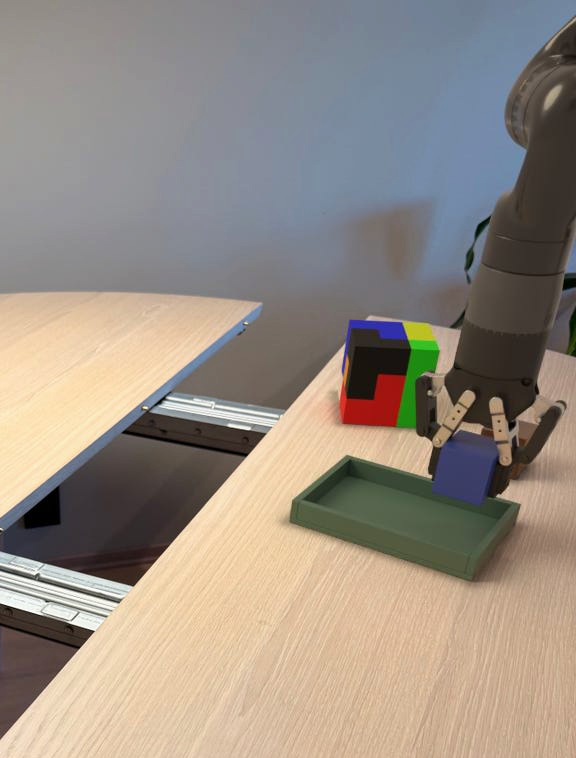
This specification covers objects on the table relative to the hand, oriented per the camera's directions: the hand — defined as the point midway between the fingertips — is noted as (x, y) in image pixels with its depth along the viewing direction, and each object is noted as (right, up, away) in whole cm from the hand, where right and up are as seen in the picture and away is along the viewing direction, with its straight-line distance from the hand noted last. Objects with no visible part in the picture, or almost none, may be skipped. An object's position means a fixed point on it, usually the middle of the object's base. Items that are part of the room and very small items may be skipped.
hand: (465, 486), depth 98 cm
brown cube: (+11, +5, +17) cm, 21 cm away
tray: (-4, -3, +6) cm, 8 cm away
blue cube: (0, 0, 0) cm, 0 cm away
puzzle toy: (0, +15, +30) cm, 34 cm away
